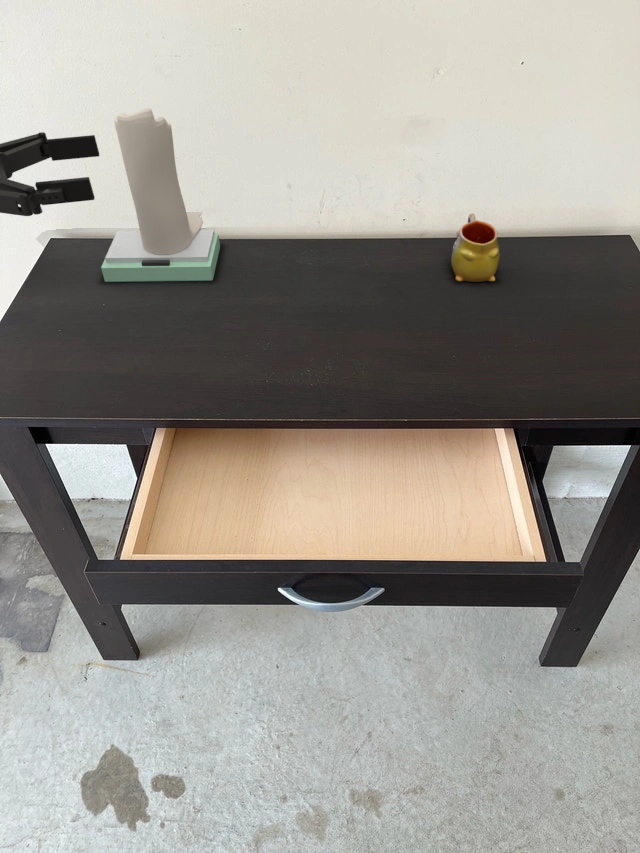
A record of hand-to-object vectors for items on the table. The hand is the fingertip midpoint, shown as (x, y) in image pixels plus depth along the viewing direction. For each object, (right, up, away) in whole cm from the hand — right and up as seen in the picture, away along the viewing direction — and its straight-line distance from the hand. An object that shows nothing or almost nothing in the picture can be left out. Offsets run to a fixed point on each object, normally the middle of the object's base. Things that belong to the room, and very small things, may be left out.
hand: (94, 165), depth 89 cm
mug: (+53, -11, +10) cm, 55 cm away
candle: (+8, -5, +12) cm, 16 cm away
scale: (+7, -10, +12) cm, 17 cm away
